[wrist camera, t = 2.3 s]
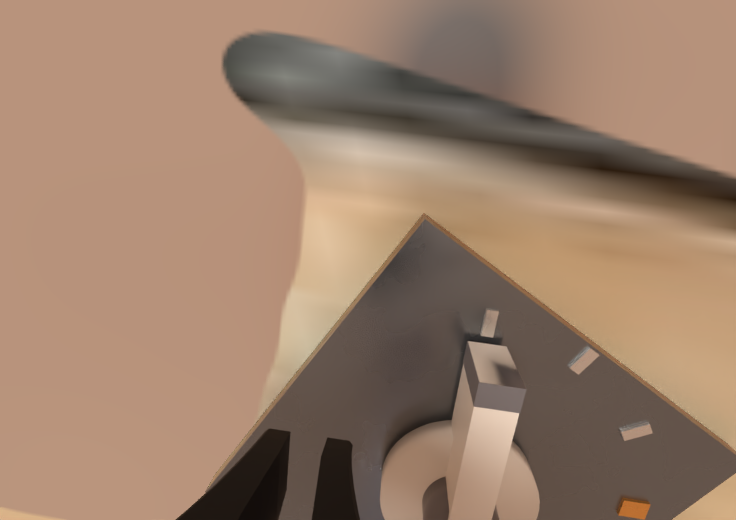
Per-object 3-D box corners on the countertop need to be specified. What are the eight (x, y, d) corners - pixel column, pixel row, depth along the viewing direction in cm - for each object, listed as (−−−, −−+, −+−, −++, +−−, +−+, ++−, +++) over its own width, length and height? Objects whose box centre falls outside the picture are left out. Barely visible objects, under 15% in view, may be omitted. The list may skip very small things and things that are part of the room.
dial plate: (472, 637, 25) (476, 665, 24) (215, 474, 23) (203, 494, 22) (728, 444, 20) (750, 466, 19) (423, 213, 18) (425, 219, 17)
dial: (513, 549, 21) (532, 621, 18) (373, 526, 21) (367, 592, 18) (571, 353, 18) (605, 400, 15) (403, 329, 18) (402, 371, 15)
